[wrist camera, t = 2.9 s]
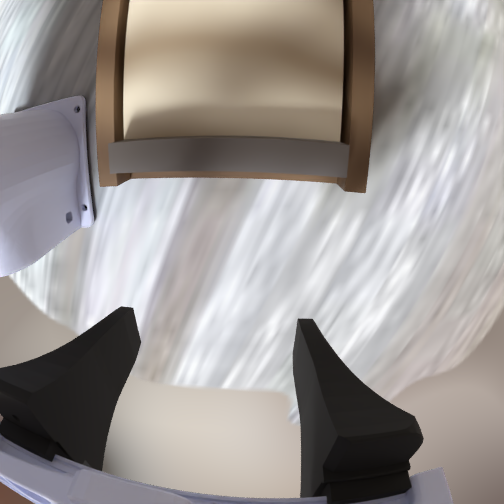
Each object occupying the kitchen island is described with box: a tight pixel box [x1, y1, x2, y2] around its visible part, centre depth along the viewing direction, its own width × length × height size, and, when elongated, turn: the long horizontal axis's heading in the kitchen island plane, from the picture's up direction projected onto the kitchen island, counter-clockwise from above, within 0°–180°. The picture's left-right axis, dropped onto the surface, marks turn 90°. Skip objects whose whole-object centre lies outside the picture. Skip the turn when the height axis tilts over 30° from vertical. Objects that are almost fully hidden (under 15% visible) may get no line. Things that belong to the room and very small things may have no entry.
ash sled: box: [108, 0, 350, 178], centre depth 13 cm, size 12×12×4 cm
